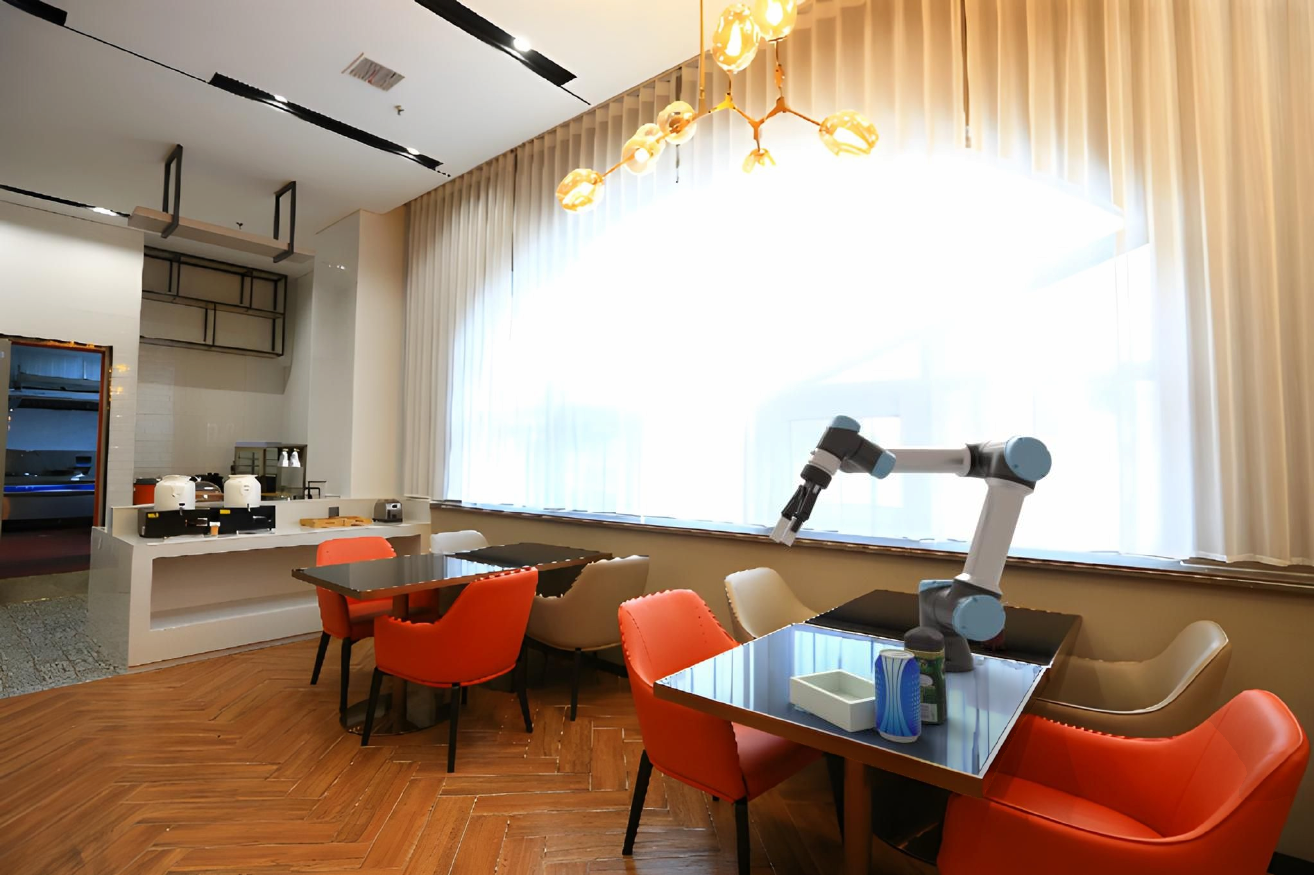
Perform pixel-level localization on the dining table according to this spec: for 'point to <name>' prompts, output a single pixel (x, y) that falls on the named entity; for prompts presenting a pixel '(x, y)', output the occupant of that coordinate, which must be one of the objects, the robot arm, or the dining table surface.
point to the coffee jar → (929, 671)
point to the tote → (836, 698)
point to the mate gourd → (996, 639)
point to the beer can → (897, 695)
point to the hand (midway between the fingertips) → (779, 541)
